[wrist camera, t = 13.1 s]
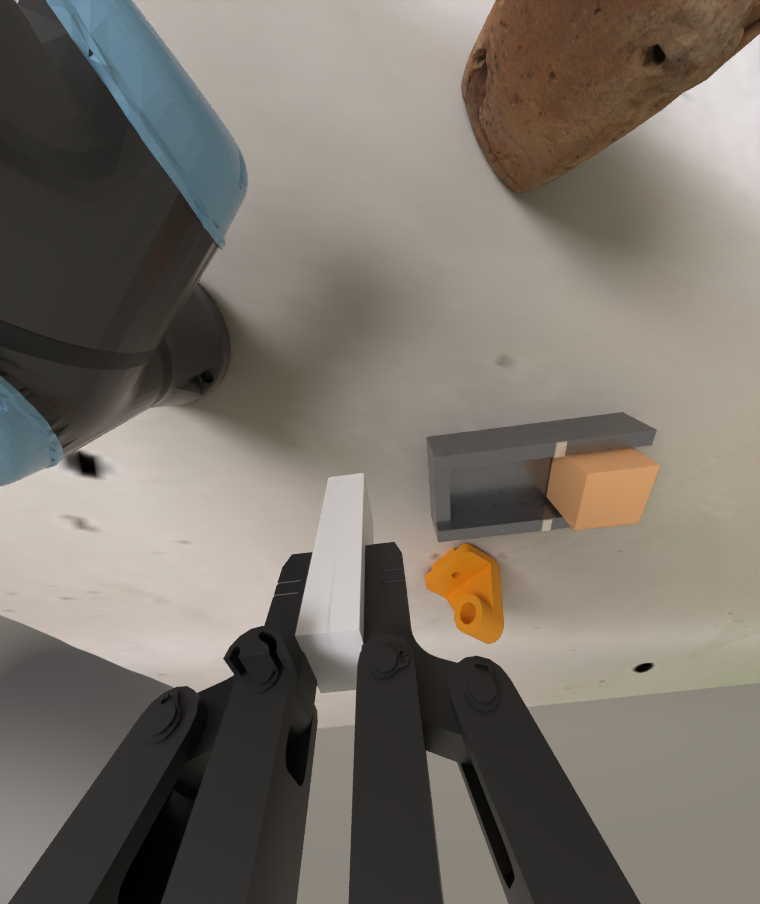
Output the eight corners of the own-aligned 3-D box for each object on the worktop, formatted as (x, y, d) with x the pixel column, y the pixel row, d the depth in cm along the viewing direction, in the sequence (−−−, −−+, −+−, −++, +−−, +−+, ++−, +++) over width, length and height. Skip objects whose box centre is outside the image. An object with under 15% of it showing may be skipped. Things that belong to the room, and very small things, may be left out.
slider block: (546, 496, 45) (574, 530, 39) (555, 445, 41) (588, 473, 35) (601, 490, 44) (638, 523, 38) (616, 437, 40) (660, 465, 34)
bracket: (464, 538, 51) (488, 604, 40) (493, 556, 53) (524, 623, 43) (421, 573, 55) (433, 642, 44) (450, 589, 57) (468, 658, 47)
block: (581, 135, 27) (958, -128, 10) (511, 210, 30) (712, 108, 12) (512, -2, 23) (931, -834, 6) (438, 98, 26) (580, -282, 8)
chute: (431, 516, 48) (438, 543, 43) (426, 437, 41) (434, 458, 36) (599, 496, 47) (626, 521, 42) (622, 412, 40) (658, 430, 36)
